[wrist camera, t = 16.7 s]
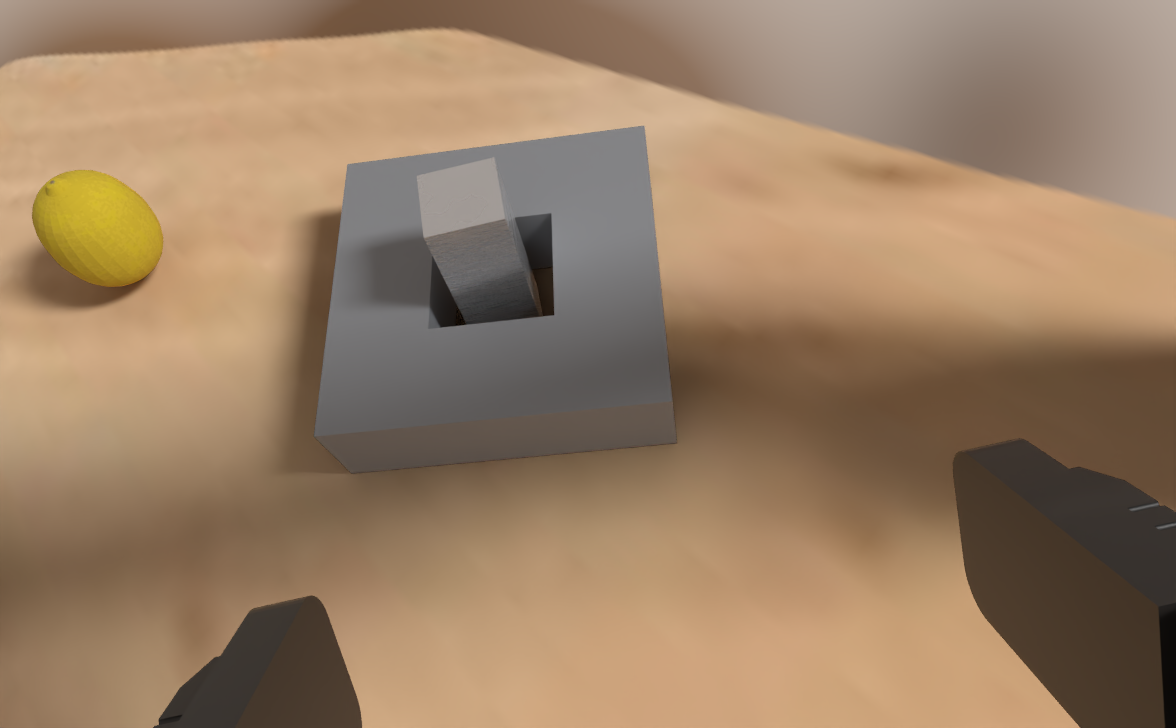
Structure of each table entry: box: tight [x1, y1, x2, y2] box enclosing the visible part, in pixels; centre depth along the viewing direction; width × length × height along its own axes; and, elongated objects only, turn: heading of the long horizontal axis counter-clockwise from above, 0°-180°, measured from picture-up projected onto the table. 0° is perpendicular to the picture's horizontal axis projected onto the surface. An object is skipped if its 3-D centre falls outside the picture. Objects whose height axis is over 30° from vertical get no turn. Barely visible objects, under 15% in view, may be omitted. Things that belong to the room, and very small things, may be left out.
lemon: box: [32, 170, 163, 287], centre depth 47 cm, size 6×6×8 cm
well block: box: [314, 126, 677, 473], centre depth 43 cm, size 16×16×4 cm
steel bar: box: [417, 157, 543, 325], centre depth 41 cm, size 4×4×10 cm
